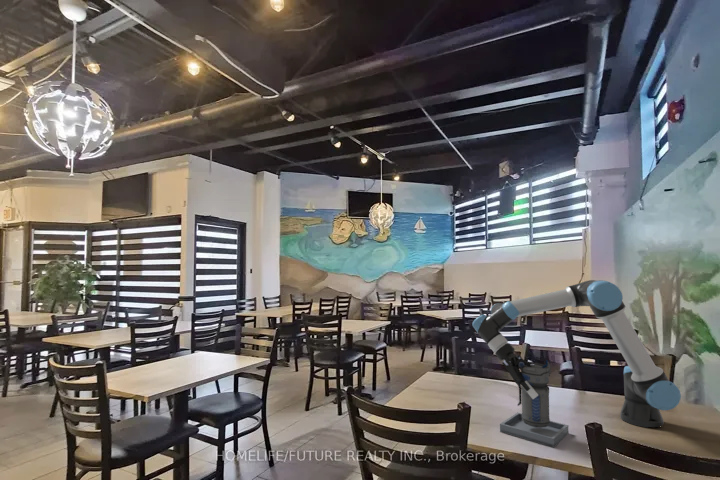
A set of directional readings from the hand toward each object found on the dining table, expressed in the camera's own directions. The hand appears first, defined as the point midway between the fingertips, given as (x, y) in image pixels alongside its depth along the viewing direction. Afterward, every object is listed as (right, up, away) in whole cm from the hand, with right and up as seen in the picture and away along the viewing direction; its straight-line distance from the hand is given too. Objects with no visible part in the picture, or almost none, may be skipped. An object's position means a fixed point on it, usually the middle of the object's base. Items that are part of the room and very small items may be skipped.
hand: (540, 394), depth 157 cm
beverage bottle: (-2, -12, +1) cm, 12 cm away
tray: (-2, -15, +1) cm, 16 cm away
